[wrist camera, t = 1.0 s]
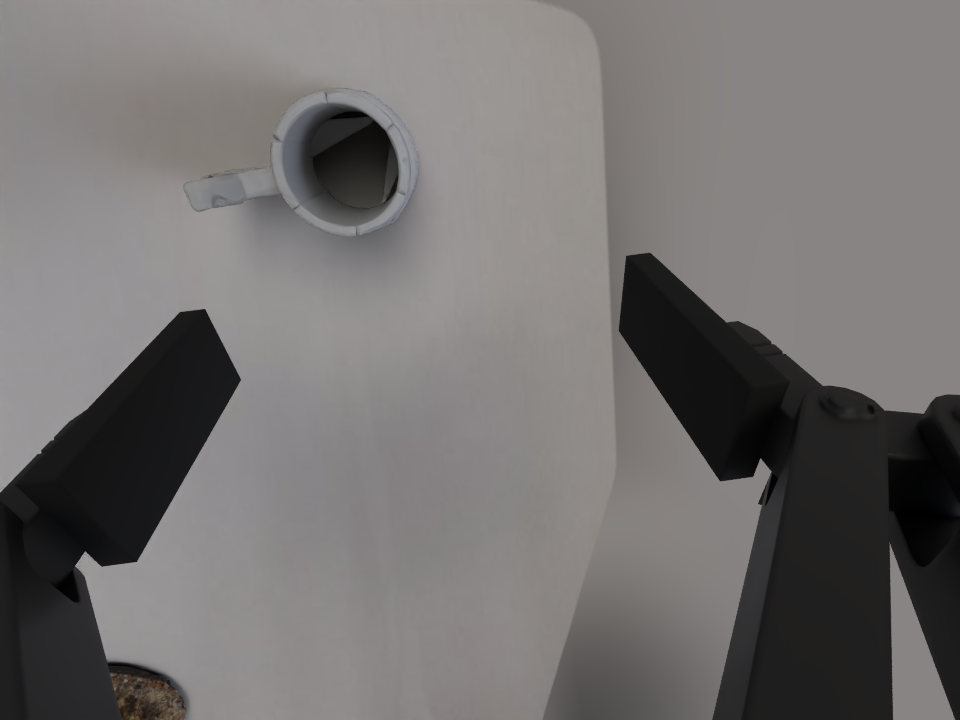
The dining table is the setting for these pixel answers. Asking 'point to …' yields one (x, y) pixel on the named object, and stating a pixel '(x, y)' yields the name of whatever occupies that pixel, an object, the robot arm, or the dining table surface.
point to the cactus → (145, 695)
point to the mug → (294, 171)
